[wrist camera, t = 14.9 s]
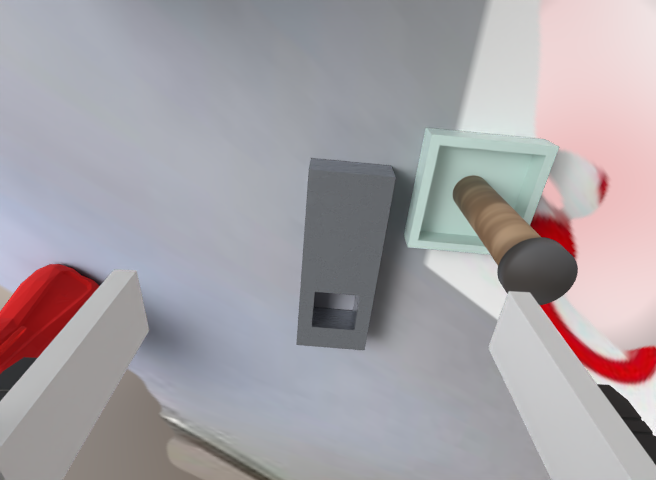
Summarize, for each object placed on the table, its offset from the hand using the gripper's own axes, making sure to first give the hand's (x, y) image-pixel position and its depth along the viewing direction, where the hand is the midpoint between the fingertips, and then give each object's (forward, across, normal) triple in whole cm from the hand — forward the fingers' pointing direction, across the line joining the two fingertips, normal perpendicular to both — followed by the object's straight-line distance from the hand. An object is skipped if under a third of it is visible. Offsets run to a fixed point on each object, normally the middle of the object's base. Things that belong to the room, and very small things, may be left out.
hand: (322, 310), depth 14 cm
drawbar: (+31, +3, -16) cm, 35 cm away
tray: (+31, +17, -7) cm, 36 cm away
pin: (+30, +17, -7) cm, 35 cm away
